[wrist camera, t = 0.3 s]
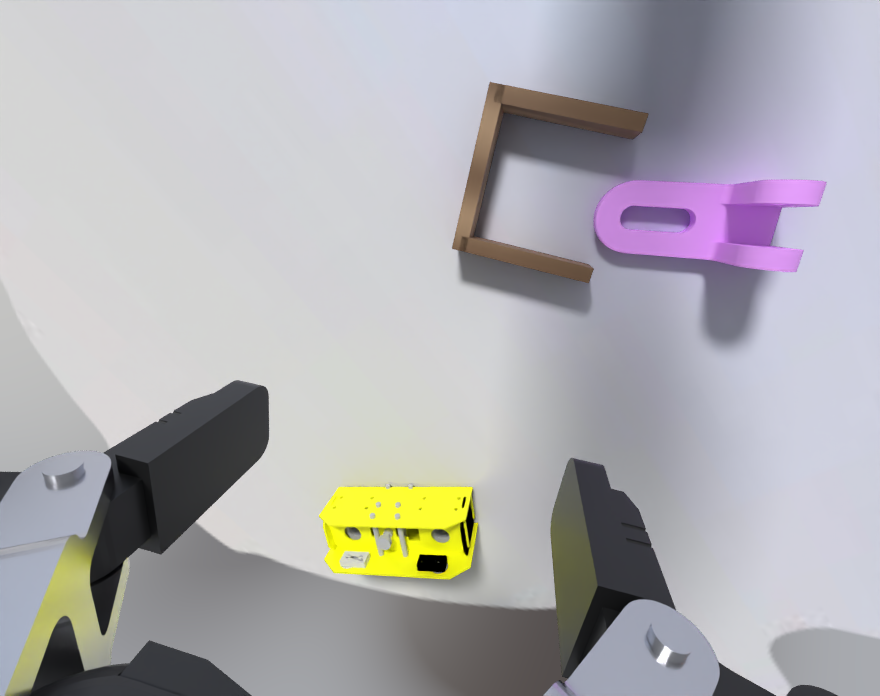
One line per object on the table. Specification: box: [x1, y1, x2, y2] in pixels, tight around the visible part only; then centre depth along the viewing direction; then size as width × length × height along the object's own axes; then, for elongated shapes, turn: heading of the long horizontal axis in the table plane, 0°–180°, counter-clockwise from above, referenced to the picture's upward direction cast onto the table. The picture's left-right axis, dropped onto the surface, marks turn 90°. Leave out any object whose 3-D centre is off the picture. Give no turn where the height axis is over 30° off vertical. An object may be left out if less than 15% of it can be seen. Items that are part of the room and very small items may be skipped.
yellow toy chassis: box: [319, 484, 478, 580], centre depth 44 cm, size 16×6×8 cm, turn 99°
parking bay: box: [452, 82, 648, 283], centre depth 33 cm, size 12×12×3 cm
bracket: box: [594, 180, 827, 272], centre depth 30 cm, size 13×6×7 cm, turn 86°
